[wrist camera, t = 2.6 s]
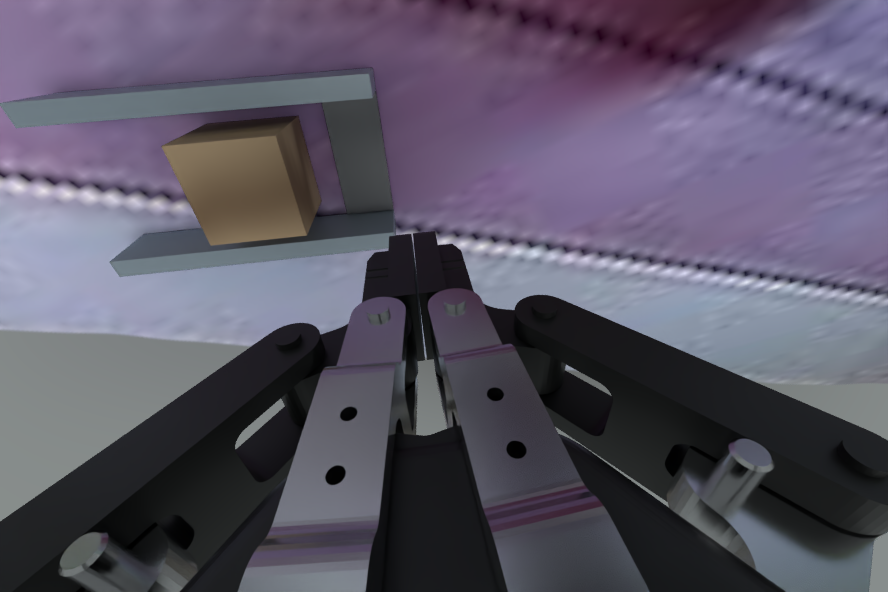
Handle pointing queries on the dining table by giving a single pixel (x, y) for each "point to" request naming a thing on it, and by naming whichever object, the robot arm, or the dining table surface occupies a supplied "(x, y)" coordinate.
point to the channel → (339, 91)
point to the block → (247, 179)
